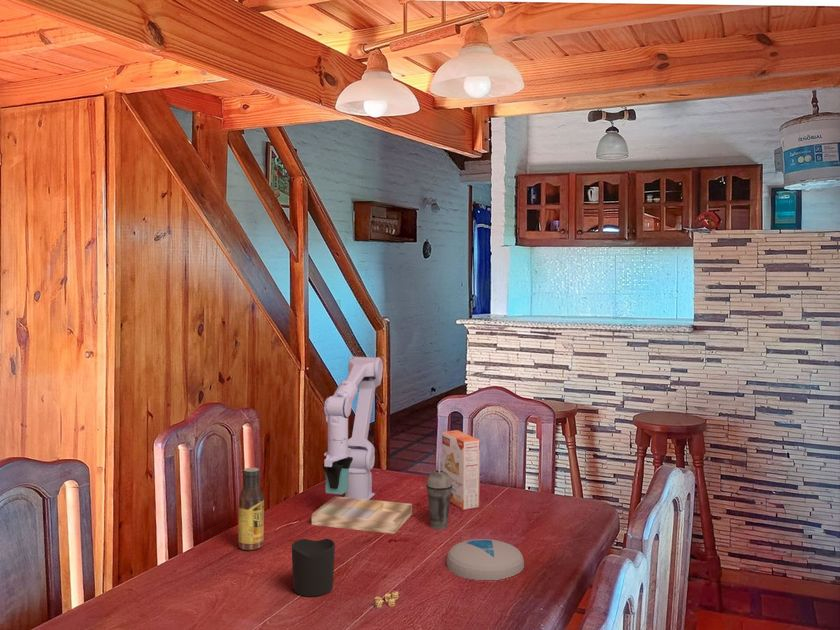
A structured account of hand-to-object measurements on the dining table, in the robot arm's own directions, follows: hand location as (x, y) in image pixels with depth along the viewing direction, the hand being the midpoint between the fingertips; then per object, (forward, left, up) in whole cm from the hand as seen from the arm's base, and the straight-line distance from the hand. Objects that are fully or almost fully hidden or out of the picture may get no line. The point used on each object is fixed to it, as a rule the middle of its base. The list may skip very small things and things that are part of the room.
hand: (337, 485), depth 209 cm
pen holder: (+46, +13, -9) cm, 49 cm away
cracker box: (-22, +31, -9) cm, 39 cm away
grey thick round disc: (+22, +47, -9) cm, 53 cm away
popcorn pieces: (+48, +30, -10) cm, 57 cm away
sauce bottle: (+28, -12, -9) cm, 32 cm away
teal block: (0, 0, -2) cm, 2 cm away
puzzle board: (+1, +8, -9) cm, 12 cm away
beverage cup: (0, +30, -9) cm, 31 cm away
